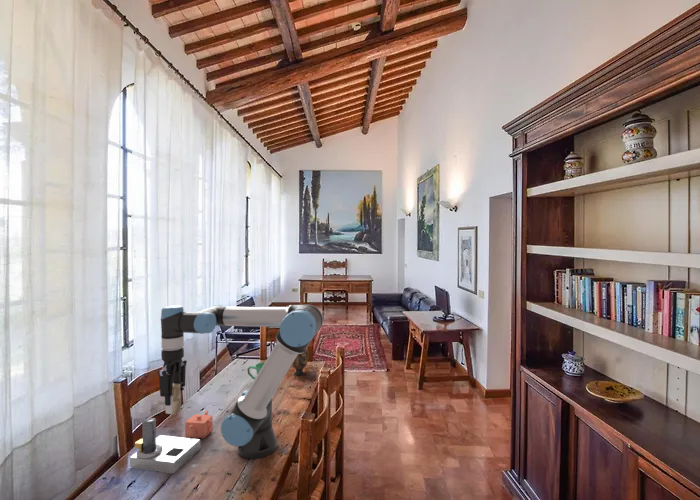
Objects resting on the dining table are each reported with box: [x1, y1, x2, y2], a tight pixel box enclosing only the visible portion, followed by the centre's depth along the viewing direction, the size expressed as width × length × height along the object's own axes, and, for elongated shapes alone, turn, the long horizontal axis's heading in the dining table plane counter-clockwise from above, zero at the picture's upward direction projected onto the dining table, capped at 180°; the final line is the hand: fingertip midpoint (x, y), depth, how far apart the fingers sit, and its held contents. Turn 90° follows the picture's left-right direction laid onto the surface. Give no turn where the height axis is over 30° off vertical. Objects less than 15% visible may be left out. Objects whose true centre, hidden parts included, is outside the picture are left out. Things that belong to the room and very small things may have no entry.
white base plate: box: [129, 434, 201, 474], centre depth 142 cm, size 18×16×4 cm
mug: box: [246, 361, 266, 380], centre depth 220 cm, size 15×10×10 cm
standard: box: [134, 417, 162, 459], centre depth 139 cm, size 9×8×12 cm
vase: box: [291, 348, 310, 377], centre depth 233 cm, size 12×12×30 cm
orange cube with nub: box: [184, 410, 214, 440], centre depth 159 cm, size 12×15×8 cm
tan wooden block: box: [165, 382, 182, 415], centre depth 139 cm, size 4×4×10 cm
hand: (173, 410), depth 139 cm, fingers closed on tan wooden block, 3 cm apart
